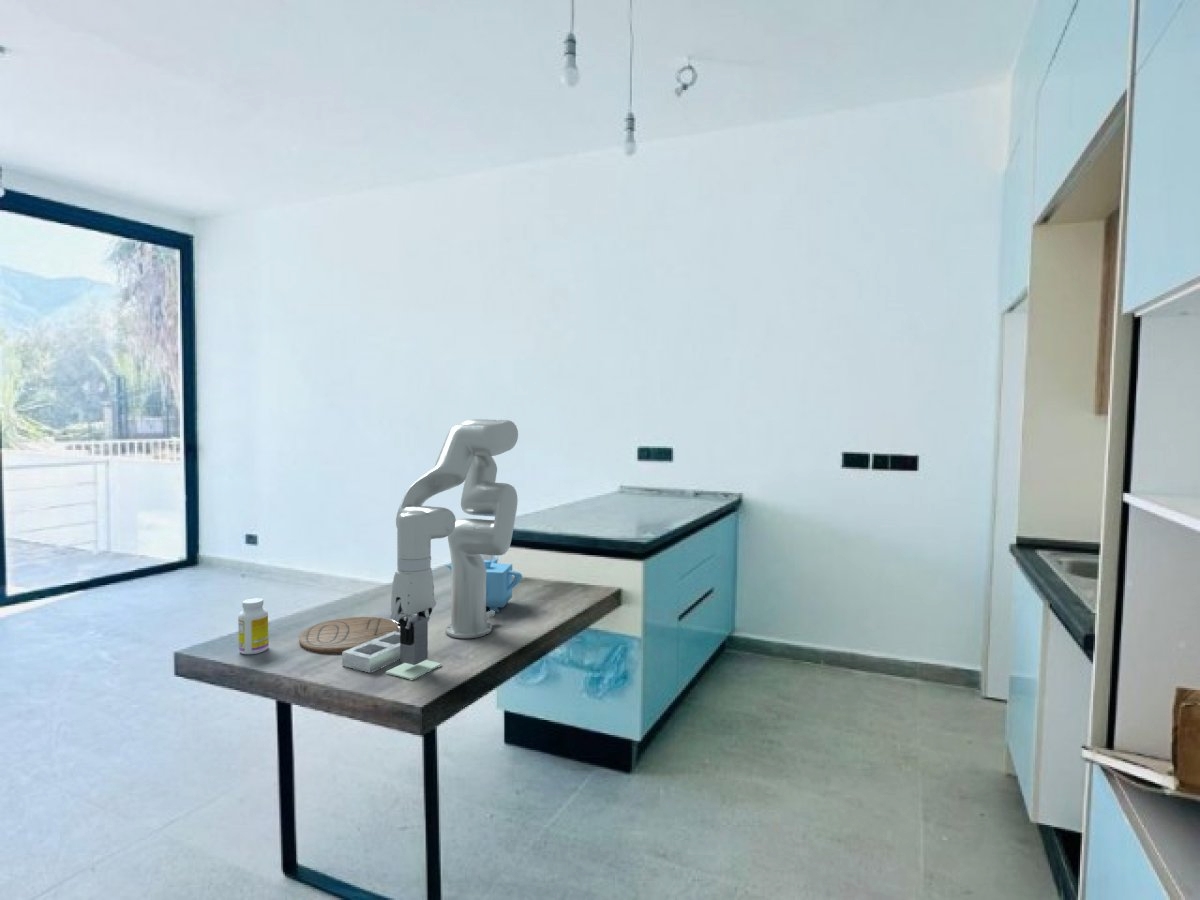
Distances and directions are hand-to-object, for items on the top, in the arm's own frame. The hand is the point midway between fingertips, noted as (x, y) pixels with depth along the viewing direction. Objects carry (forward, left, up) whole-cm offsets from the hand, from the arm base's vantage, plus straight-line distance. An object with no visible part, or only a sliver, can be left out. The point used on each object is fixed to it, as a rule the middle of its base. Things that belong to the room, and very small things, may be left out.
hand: (414, 640), depth 153 cm
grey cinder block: (-2, -12, -7) cm, 14 cm away
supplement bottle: (+10, -44, -7) cm, 46 cm away
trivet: (-9, -31, -8) cm, 33 cm away
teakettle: (-49, -17, -7) cm, 52 cm away
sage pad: (0, 0, -7) cm, 7 cm away
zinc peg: (0, 0, -5) cm, 5 cm away
